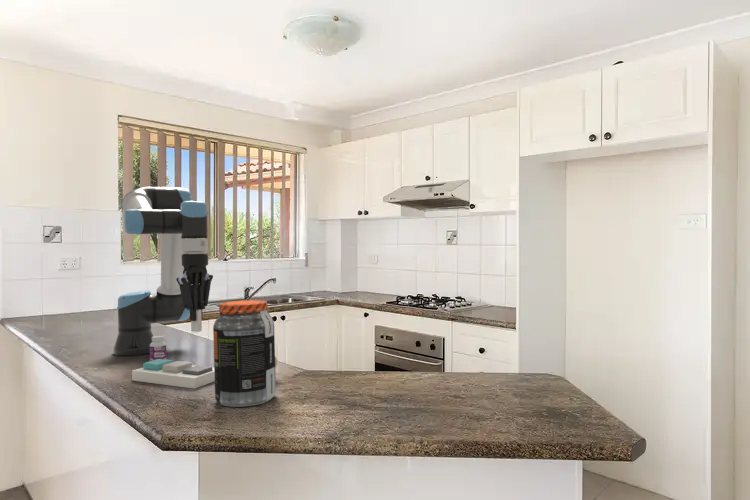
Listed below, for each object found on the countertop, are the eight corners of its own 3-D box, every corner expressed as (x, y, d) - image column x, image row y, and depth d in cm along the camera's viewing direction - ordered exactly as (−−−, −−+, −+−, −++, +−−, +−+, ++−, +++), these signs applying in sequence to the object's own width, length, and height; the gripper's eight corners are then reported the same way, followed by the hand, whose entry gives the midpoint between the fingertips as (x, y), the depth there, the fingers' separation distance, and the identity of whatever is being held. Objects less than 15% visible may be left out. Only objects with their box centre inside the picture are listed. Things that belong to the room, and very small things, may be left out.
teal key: (158, 368, 165) (158, 358, 165) (172, 369, 162) (172, 360, 162) (143, 372, 159) (143, 363, 159) (157, 374, 157) (157, 364, 157)
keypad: (162, 371, 168) (162, 362, 168) (223, 378, 158) (222, 368, 158) (132, 380, 157) (131, 370, 157) (194, 388, 147) (194, 378, 147)
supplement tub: (288, 395, 139) (286, 300, 138) (246, 412, 125) (243, 307, 125) (245, 388, 147) (243, 297, 146) (201, 403, 133) (199, 304, 133)
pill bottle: (155, 366, 175) (154, 338, 175) (147, 364, 178) (146, 336, 178) (169, 363, 179) (169, 336, 179) (161, 361, 182) (160, 334, 182)
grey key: (177, 370, 162) (177, 360, 162) (192, 371, 159) (192, 362, 159) (162, 374, 156) (162, 365, 156) (177, 376, 154) (177, 366, 154)
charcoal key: (197, 374, 158) (197, 365, 158) (212, 376, 156) (212, 366, 156) (182, 379, 153) (182, 369, 153) (198, 381, 150) (197, 371, 150)
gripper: (188, 253, 146) (190, 336, 147) (219, 252, 158) (221, 328, 159) (168, 253, 149) (170, 334, 150) (200, 252, 161) (202, 326, 162)
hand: (196, 331), depth 154 cm, fingers closed
